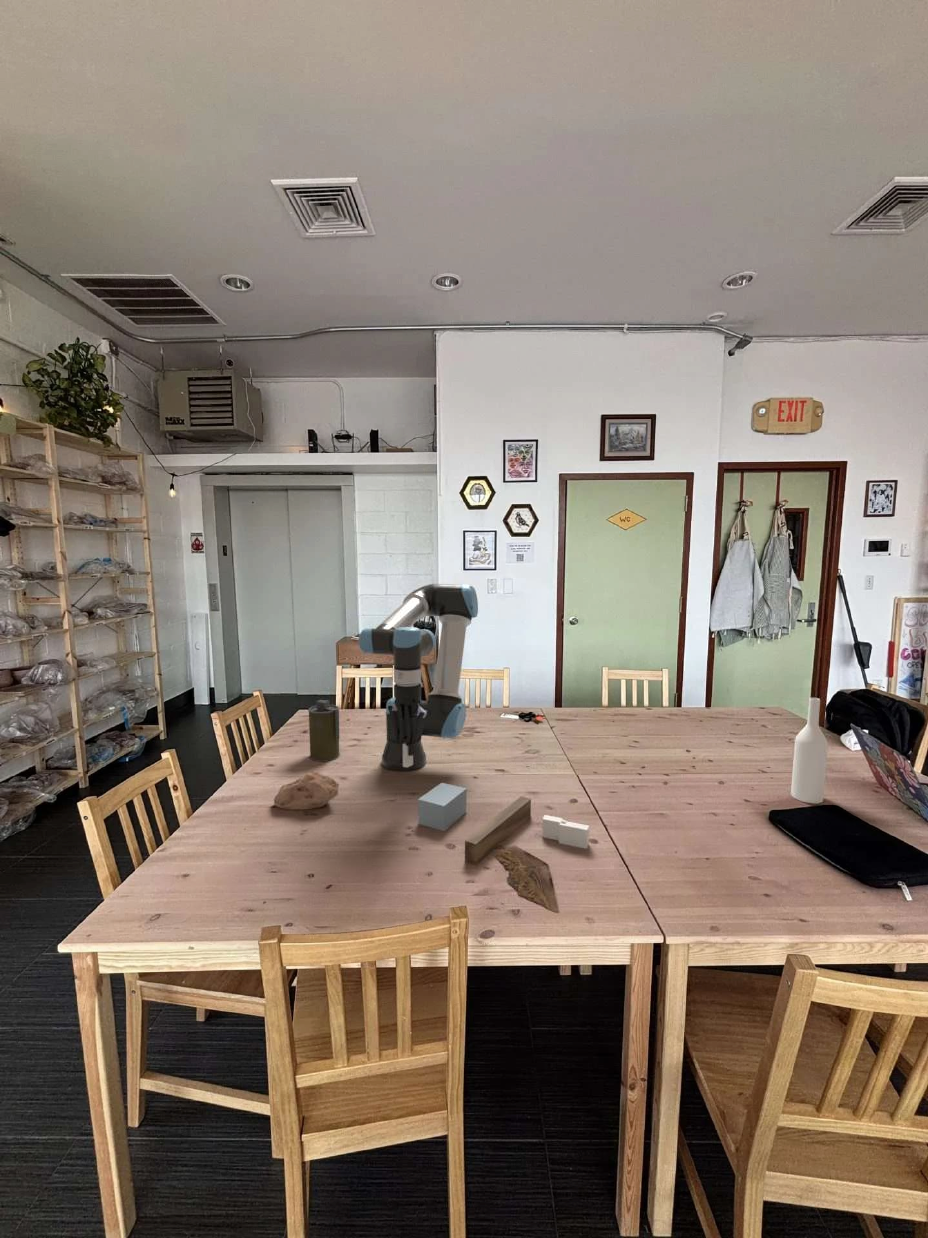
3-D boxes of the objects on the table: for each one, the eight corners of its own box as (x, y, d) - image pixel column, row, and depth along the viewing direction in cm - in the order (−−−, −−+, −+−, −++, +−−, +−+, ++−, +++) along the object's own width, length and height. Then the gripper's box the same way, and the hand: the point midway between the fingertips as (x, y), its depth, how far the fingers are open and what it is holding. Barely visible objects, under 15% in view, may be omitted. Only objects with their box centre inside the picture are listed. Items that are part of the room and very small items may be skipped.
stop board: (464, 860, 127) (464, 840, 126) (520, 813, 150) (521, 796, 149) (475, 864, 125) (475, 844, 125) (530, 816, 148) (530, 799, 148)
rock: (341, 796, 160) (340, 764, 159) (337, 812, 151) (336, 777, 149) (277, 799, 158) (275, 767, 157) (269, 815, 148) (268, 781, 147)
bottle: (795, 789, 166) (802, 693, 162) (826, 797, 160) (834, 698, 156) (787, 797, 160) (795, 698, 156) (819, 806, 154) (827, 704, 151)
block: (418, 824, 144) (418, 799, 143) (441, 806, 155) (441, 782, 154) (444, 831, 140) (444, 806, 139) (466, 812, 151) (466, 788, 150)
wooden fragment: (490, 849, 132) (490, 845, 132) (533, 844, 135) (533, 840, 134) (525, 919, 107) (525, 914, 107) (576, 911, 110) (577, 906, 109)
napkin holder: (601, 849, 133) (602, 827, 132) (565, 862, 127) (566, 839, 127) (562, 822, 146) (563, 802, 145) (528, 833, 140) (528, 812, 140)
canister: (303, 759, 189) (301, 703, 187) (321, 749, 199) (320, 696, 196) (329, 763, 185) (327, 706, 183) (346, 753, 195) (345, 699, 192)
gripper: (380, 682, 150) (381, 764, 153) (417, 689, 143) (417, 775, 146) (398, 678, 156) (399, 757, 159) (434, 684, 149) (434, 766, 152)
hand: (407, 765), depth 152 cm, fingers closed
